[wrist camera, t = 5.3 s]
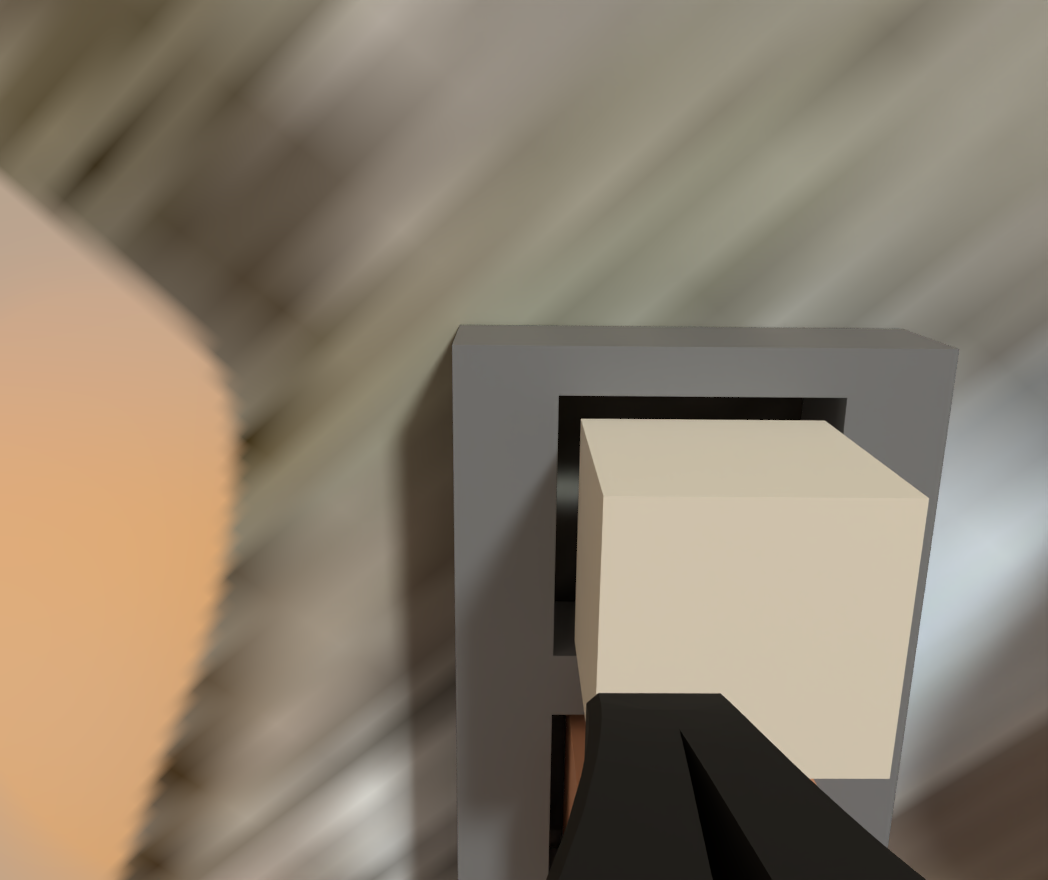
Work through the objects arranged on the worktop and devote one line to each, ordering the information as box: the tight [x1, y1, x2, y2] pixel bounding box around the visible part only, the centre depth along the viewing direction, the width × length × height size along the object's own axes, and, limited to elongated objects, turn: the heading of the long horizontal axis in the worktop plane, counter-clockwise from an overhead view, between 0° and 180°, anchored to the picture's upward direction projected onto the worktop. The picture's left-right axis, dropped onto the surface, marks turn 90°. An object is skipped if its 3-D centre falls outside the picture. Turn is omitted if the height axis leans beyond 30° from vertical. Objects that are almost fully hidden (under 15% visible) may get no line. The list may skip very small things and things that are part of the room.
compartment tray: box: [452, 325, 959, 880], centre depth 20 cm, size 20×9×2 cm, turn 179°
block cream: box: [574, 419, 929, 779], centre depth 15 cm, size 4×4×4 cm
